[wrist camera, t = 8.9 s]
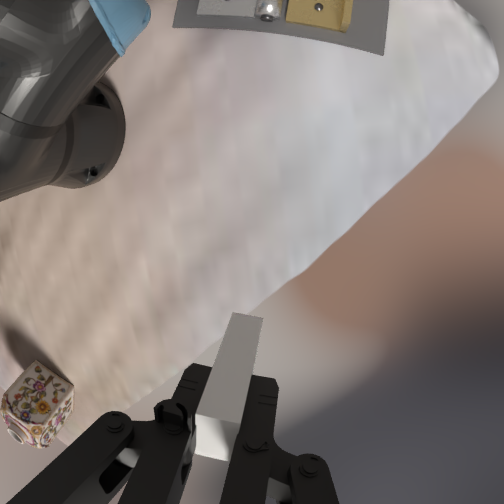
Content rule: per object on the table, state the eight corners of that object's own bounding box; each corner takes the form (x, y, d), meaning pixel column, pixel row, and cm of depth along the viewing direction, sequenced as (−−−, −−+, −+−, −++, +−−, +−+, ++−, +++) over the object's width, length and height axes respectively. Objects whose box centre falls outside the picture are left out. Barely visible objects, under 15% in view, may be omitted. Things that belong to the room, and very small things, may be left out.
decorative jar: (74, 411, 62) (39, 462, 46) (37, 386, 62) (-1, 431, 45) (75, 385, 58) (33, 441, 41) (35, 357, 57) (-11, 406, 41)
